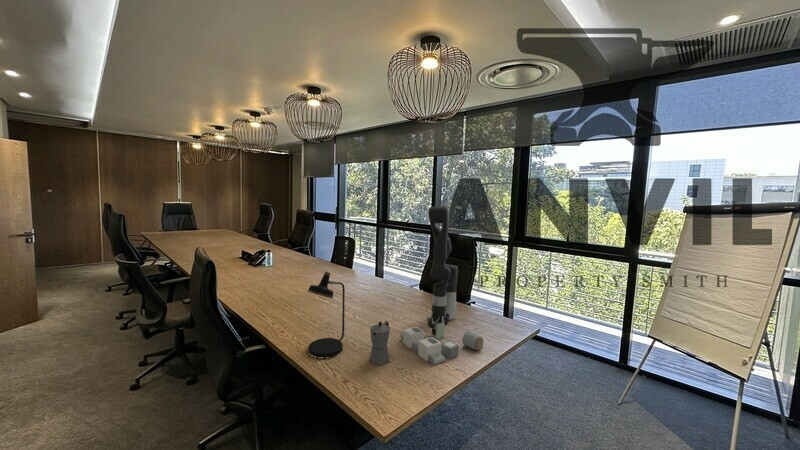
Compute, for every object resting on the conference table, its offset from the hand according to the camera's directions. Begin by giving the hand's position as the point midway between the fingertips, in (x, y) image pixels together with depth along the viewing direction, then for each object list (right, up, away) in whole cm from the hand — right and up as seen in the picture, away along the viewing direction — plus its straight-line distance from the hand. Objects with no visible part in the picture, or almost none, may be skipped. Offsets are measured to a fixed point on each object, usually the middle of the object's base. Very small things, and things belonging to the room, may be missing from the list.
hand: (437, 333), depth 169 cm
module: (0, -1, 0) cm, 1 cm away
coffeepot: (-29, -3, -25) cm, 39 cm away
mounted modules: (-10, -3, -15) cm, 18 cm away
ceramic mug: (+17, -3, -10) cm, 20 cm away
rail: (-10, -3, -15) cm, 18 cm away
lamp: (-55, -2, -17) cm, 58 cm away
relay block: (+3, -3, -19) cm, 19 cm away
